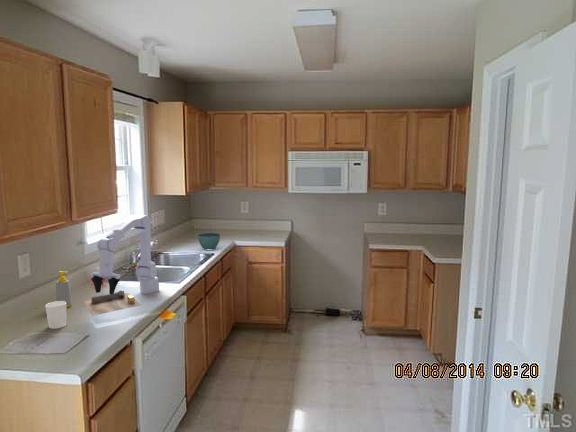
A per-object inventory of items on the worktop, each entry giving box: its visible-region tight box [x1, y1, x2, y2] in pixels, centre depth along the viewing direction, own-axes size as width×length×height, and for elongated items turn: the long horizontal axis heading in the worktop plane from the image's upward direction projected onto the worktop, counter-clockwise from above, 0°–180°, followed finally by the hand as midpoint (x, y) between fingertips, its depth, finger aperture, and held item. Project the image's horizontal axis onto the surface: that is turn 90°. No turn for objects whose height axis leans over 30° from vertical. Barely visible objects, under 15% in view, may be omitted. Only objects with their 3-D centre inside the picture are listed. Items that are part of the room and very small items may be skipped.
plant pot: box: [197, 232, 221, 250], centre depth 331 cm, size 18×18×12 cm
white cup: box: [44, 301, 68, 330], centre depth 174 cm, size 8×8×10 cm
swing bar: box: [90, 290, 125, 303], centre depth 203 cm, size 16×3×3 cm, turn 126°
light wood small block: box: [127, 294, 136, 303], centre depth 200 cm, size 2×4×3 cm, turn 36°
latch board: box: [82, 292, 142, 316], centre depth 199 cm, size 22×24×2 cm
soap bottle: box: [55, 270, 73, 309], centre depth 198 cm, size 7×7×18 cm
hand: (104, 293), depth 186 cm, fingers open, 7 cm apart
